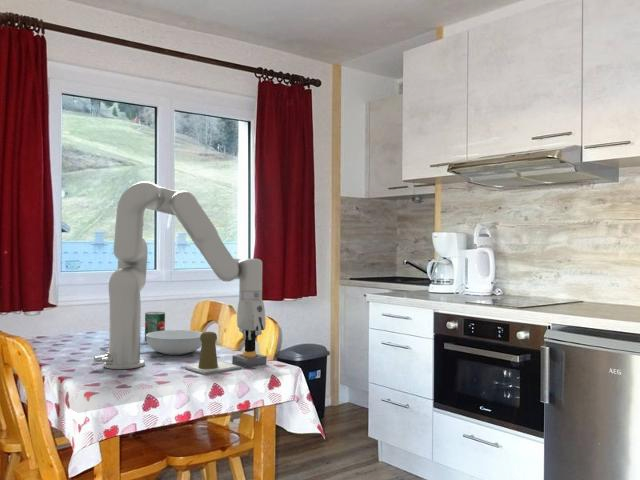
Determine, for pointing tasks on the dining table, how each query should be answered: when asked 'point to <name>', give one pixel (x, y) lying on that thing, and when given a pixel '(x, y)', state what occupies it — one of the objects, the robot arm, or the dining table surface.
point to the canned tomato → (154, 322)
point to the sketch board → (221, 368)
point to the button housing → (249, 360)
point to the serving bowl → (174, 341)
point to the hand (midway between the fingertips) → (250, 351)
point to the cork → (208, 351)
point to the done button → (249, 354)
